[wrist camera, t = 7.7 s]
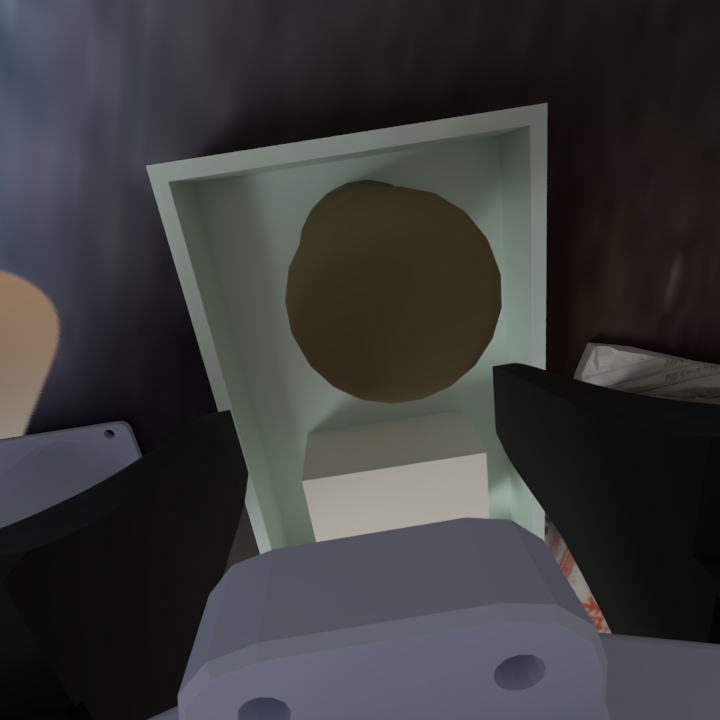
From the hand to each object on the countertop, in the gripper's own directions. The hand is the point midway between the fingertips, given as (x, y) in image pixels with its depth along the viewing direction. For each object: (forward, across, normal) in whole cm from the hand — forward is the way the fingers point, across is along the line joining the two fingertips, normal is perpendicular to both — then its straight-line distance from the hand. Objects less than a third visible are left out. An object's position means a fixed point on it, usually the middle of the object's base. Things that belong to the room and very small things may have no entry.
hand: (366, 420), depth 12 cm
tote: (+10, -1, +3) cm, 11 cm away
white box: (+9, -1, +8) cm, 12 cm away
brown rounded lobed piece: (+10, -1, -3) cm, 10 cm away
